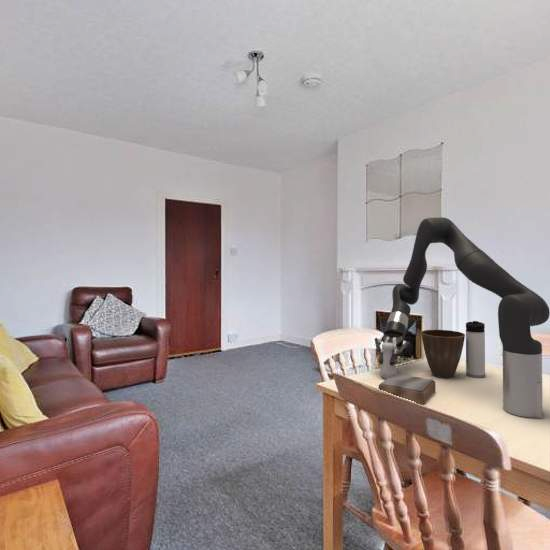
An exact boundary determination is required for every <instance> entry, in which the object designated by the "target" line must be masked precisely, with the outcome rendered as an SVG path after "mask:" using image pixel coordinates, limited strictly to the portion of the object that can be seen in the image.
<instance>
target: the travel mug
mask: <svg viewBox="0 0 550 550" xmlns="http://www.w3.org/2000/svg"><path fill="white" fill-rule="evenodd" d="M485 326H486V325H485V323H483V322H481V321H477V320H473V321H467V322H466V323H465V374H466V375H467V376H468V377H469V378H470V377H471V378H474V377H476V379H481V378H485V377H486V333H485V332H486V331H485V329H486V327H485Z"/></svg>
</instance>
